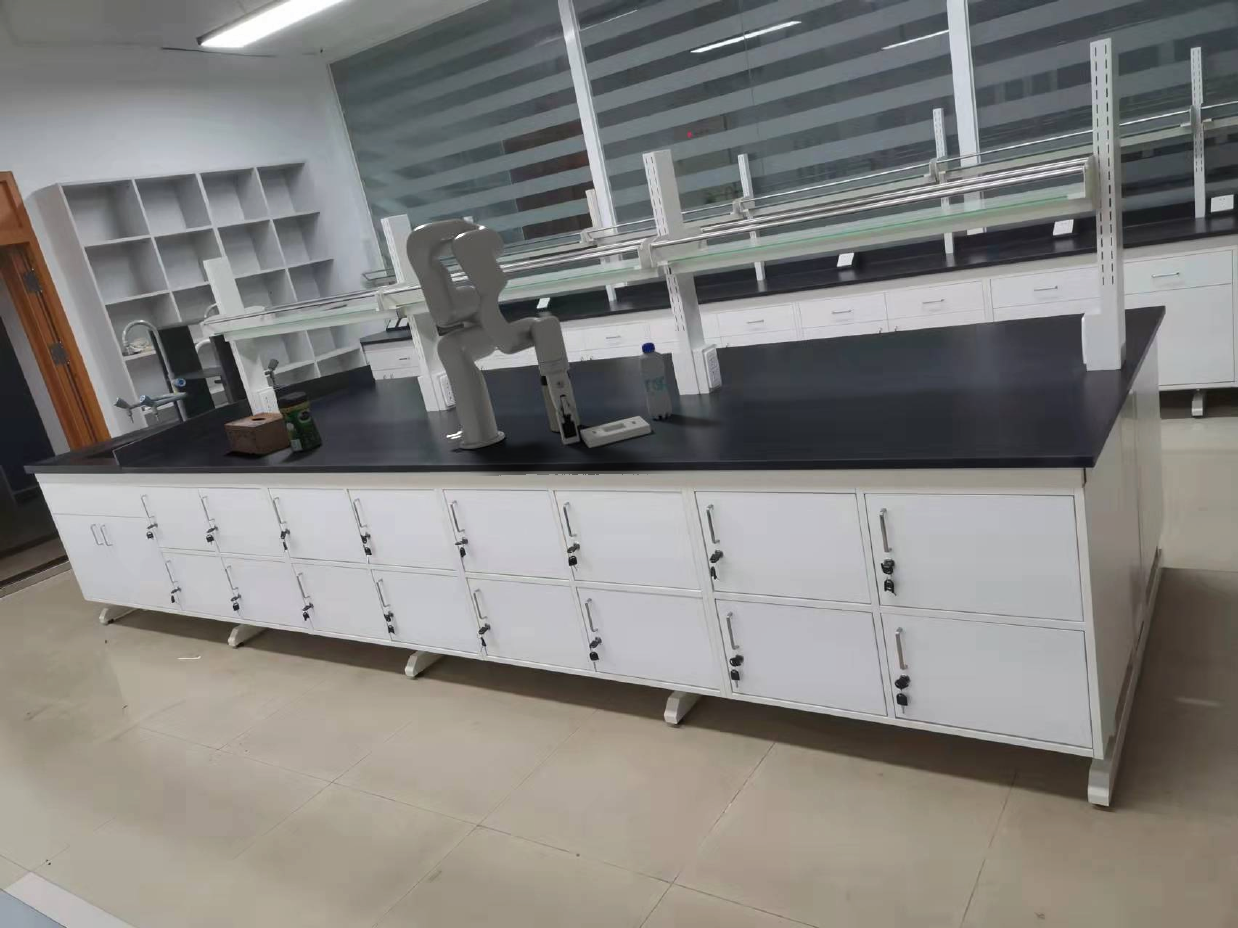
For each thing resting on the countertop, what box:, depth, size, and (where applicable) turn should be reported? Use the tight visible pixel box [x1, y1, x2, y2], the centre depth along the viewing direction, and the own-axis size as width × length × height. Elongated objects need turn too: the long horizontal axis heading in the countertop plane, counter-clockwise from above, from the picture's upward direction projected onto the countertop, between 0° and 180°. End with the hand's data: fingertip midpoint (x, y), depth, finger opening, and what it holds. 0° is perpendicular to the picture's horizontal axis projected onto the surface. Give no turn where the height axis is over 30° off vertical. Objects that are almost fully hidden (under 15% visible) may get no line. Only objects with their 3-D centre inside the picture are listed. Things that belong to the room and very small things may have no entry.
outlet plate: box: [579, 415, 652, 449], centre depth 224 cm, size 16×12×2 cm
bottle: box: [638, 342, 673, 420], centre depth 230 cm, size 7×7×20 cm
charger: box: [556, 408, 581, 446], centre depth 226 cm, size 4×4×8 cm
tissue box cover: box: [223, 412, 290, 455], centre depth 306 cm, size 26×14×10 cm, turn 46°
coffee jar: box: [276, 391, 323, 453], centre depth 286 cm, size 10×8×19 cm
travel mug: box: [537, 367, 581, 433], centre depth 240 cm, size 8×8×18 cm
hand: (569, 434), depth 227 cm, fingers closed on charger, 3 cm apart
